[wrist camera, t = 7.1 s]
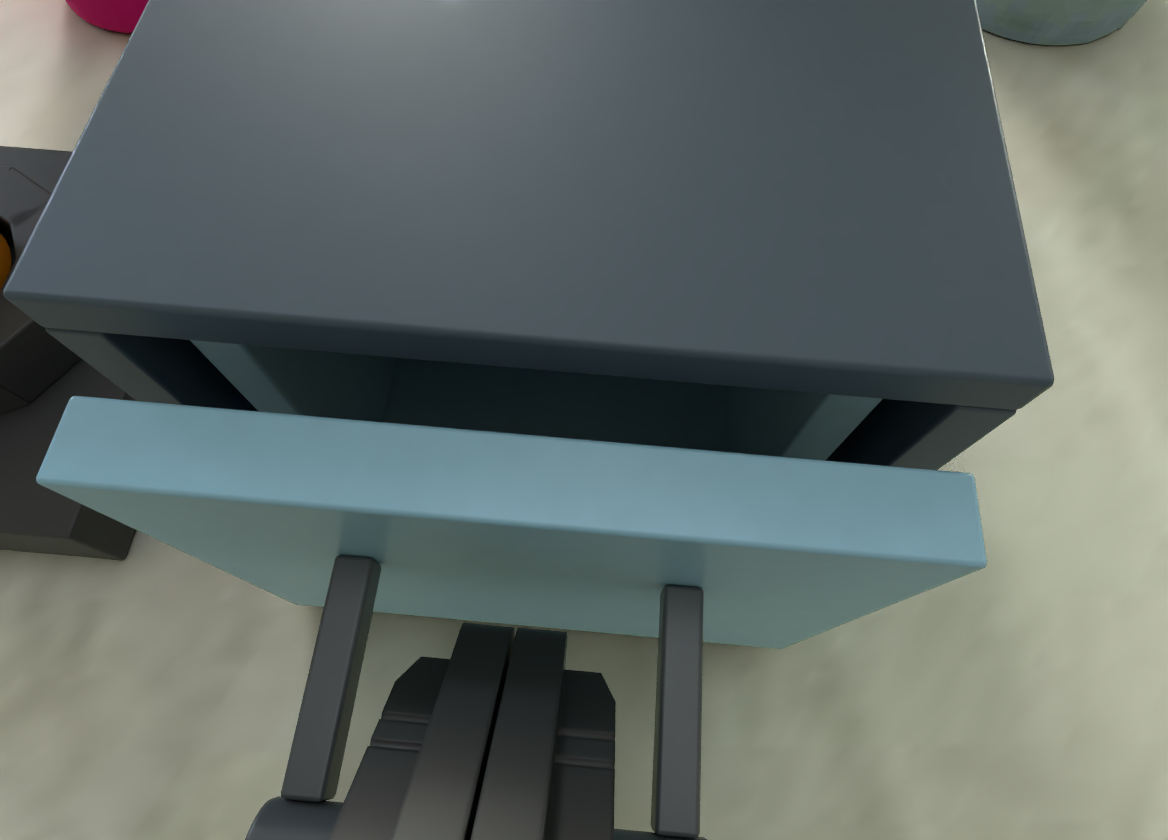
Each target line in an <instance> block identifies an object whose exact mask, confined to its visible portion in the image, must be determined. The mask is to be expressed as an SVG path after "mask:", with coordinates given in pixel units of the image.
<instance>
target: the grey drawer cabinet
mask: <svg viewBox="0 0 1168 840" xmlns="http://www.w3.org/2000/svg"><path fill="white" fill-rule="evenodd" d="M3 295H4V297H5V298H6V299H7V300H8V301H9V302H11V303H12V304H13V305H15V306H16V307H17V308H19V309H20V310H21V311H22V312H24V313H25V314H26V315H28V316H29V317H30V318H32V319H33V320H34V321H35V322H37V323H38V324H39V325H41V326H43V327H46V332H48V333H49V334H50V335H52V336H53V337H54V338H55V339H57V340H58V341H59V342H61V343H62V344H63V345H65V346H66V347H67V348H69V349H70V350H71V351H72V352H74V353H75V354H76V355H78V356H79V357H80V358H82V359H83V360H84V361H85V362H87V363H88V364H89V365H91V366H92V367H93V368H95V369H96V370H97V371H99V372H100V373H101V374H102V375H104V376H105V377H106V378H108V379H109V380H110V381H112V382H113V383H114V384H115V385H117V386H118V387H119V388H121V389H122V390H123V391H125V392H126V393H127V394H129V395H130V396H131V397H132V398H134V399H135V400H136V401H142V402H153V403H165V404H177V405H188V406H200V407H211V408H223V409H234V410H246V411H257V412H259V411H258V410H257V409H256V408H255V407H254V406H253V405H252V404H251V403H250V402H249V401H248V400H247V399H246V398H245V397H244V396H243V395H242V394H241V393H240V392H239V391H238V390H237V389H236V388H235V386H234V385H233V384H232V383H231V382H230V381H229V380H228V379H227V378H226V377H225V376H224V375H223V374H222V373H221V372H220V371H219V370H218V369H217V368H216V367H215V366H214V365H213V364H212V363H211V362H210V361H209V360H208V359H207V358H206V357H205V356H204V354H203V353H202V352H201V351H200V350H199V349H198V348H197V347H196V346H195V345H194V344H193V343H192V342H191V341H190V340H196V341H207V342H219V343H231V344H243V345H255V346H266V347H278V348H290V349H302V350H313V351H325V352H337V353H349V354H361V355H372V356H384V357H396V358H408V359H420V360H431V361H443V362H455V363H467V364H478V365H490V366H502V367H514V368H526V369H537V370H549V371H561V372H573V373H585V374H596V375H608V376H620V377H632V378H643V379H655V380H667V381H679V382H691V383H702V384H714V385H726V386H738V387H750V388H761V389H773V390H785V391H797V392H808V393H820V394H832V395H844V396H856V397H867V398H879V399H882V400H881V401H880V402H879V403H878V405H877V406H876V407H875V408H874V409H873V410H872V411H871V412H870V413H869V414H868V415H867V416H866V417H865V418H864V420H863V421H862V422H861V423H860V424H859V425H858V426H857V427H856V428H855V429H854V430H853V431H852V432H851V433H850V434H849V436H848V437H847V438H846V439H845V440H844V441H843V442H842V443H841V444H840V445H839V446H838V447H837V448H836V449H835V451H834V452H833V453H832V454H831V455H830V456H829V457H828V458H827V459H826V460H825V461H835V462H846V463H858V464H869V465H881V466H892V467H904V468H916V469H927V470H938V469H939V468H941V467H942V466H943V465H945V464H946V463H947V462H949V461H950V460H952V459H953V458H954V457H956V456H957V455H959V454H960V453H961V452H963V451H964V450H966V449H967V448H968V447H970V446H971V445H973V444H974V443H975V442H977V441H978V440H980V439H981V438H982V437H984V436H985V435H987V434H988V433H989V432H991V431H992V430H993V429H995V428H996V427H998V426H999V425H1000V424H1002V423H1003V422H1005V421H1006V420H1007V419H1009V418H1010V417H1012V416H1013V415H1014V414H1015V413H1016V410H1017V409H1020V408H1022V407H1024V406H1025V405H1026V404H1028V403H1029V402H1030V401H1032V400H1033V399H1035V398H1036V397H1037V396H1039V395H1040V394H1042V393H1043V392H1044V391H1046V390H1047V389H1049V388H1050V387H1051V386H1052V385H1053V382H1054V375H1053V370H1052V366H1051V361H1050V356H1049V351H1048V346H1047V341H1046V337H1045V332H1044V327H1043V322H1042V317H1041V312H1040V308H1039V303H1038V298H1037V293H1036V288H1035V284H1034V279H1033V274H1032V269H1031V264H1030V259H1029V255H1028V250H1027V245H1026V240H1025V235H1024V230H1023V226H1022V221H1021V216H1020V211H1019V206H1018V201H1017V197H1016V192H1015V187H1014V182H1013V177H1012V173H1011V168H1010V163H1009V158H1008V153H1007V148H1006V144H1005V139H1004V134H1003V129H1002V124H1001V119H1000V115H999V110H998V105H997V100H996V95H995V91H994V86H993V81H992V76H991V71H990V66H989V62H988V57H987V52H986V47H985V42H984V37H983V33H982V28H981V23H980V18H979V13H978V9H977V4H976V0H149V1H148V3H147V5H146V7H145V9H144V11H143V13H142V15H141V17H140V19H139V21H138V23H137V25H136V27H135V29H134V31H133V33H132V35H131V37H130V39H129V41H128V43H127V45H126V47H125V49H124V51H123V53H122V55H121V57H120V59H119V61H118V63H117V65H116V67H115V69H114V71H113V73H112V75H111V77H110V79H109V81H108V83H107V85H106V87H105V89H104V91H103V93H102V95H101V97H100V99H99V101H98V103H97V105H96V107H95V108H94V110H93V112H92V114H91V116H90V118H89V120H88V122H87V124H86V126H85V128H84V130H83V132H82V134H81V136H80V138H79V140H78V142H77V144H76V146H75V148H74V150H73V152H72V154H71V156H70V158H69V160H68V162H67V164H66V166H65V168H64V170H63V172H62V174H61V176H60V178H59V180H58V182H57V184H56V186H55V188H54V190H53V192H52V194H51V196H50V198H49V200H48V202H47V204H46V206H45V208H44V210H43V212H42V214H41V216H40V218H39V220H38V222H37V224H36V226H35V228H34V230H33V232H32V234H31V236H30V238H29V240H28V242H27V244H26V246H25V248H24V250H23V252H22V254H21V256H20V258H19V260H18V262H17V264H16V266H15V268H14V270H13V272H12V274H11V276H10V278H9V280H8V282H7V284H6V286H5V288H4V290H3Z"/></svg>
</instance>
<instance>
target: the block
mask: <svg viewBox="0 0 1168 840" xmlns="http://www.w3.org/2000/svg"><path fill="white" fill-rule="evenodd" d="M71 154H72V152H69V151H56V150H44V149H31V148H19V147H6V146H0V233H1V235H2V236H3V237H4V238H5V240H6V242H7V244H8V246H9V249H10V252H11V260H12V263H11V270H10V272H9V274H8V276H7V278H6V280H5V282H4V284H3V286H2V288H1V290H0V549H4V550H15V551H26V552H37V553H48V554H59V555H70V556H81V557H92V558H103V559H114V560H123V559H125V557H126V554H127V551H128V548H129V545H130V543H131V540H132V537H133V534H134V531H135V529H134V528H131V527H129V526H127V525H125V524H123V523H121V522H119V521H117V520H114V519H112V518H110V517H108V516H106V515H104V514H102V513H99V512H97V511H95V510H93V509H91V508H89V507H87V506H85V505H82V504H80V503H78V502H76V501H74V500H72V499H70V498H67V497H65V496H63V495H61V494H59V493H57V492H55V491H53V490H50V489H48V488H46V487H44V486H42V485H40V484H38V483H37V481H36V477H37V474H38V472H39V470H40V467H41V465H42V463H43V460H44V458H45V456H46V453H47V451H48V448H49V446H50V444H51V441H52V439H53V437H54V434H55V432H56V430H57V427H58V425H59V423H60V420H61V418H62V415H63V413H64V411H65V408H66V406H67V404H68V401H69V399H70V398H71V397H72V396H84V397H96V398H107V399H119V400H130V401H136V400H135V399H134V398H132V397H131V396H130V395H129V394H127V393H126V392H125V391H123V390H122V389H121V388H119V387H118V386H117V385H115V384H114V383H113V382H112V381H110V380H109V379H108V378H106V377H105V376H104V375H102V374H101V373H100V372H99V371H97V370H96V369H95V368H93V367H92V366H91V365H89V364H88V363H87V362H85V361H84V360H83V359H82V358H80V357H79V356H78V355H76V354H75V353H74V352H72V351H71V350H70V349H69V348H67V347H66V346H65V345H63V344H62V343H61V342H59V341H58V340H57V339H55V338H54V337H53V336H52V335H50V334H49V333H48V332H46V327H43V326H41V325H39V324H38V323H37V322H35V321H34V320H33V319H32V318H30V317H29V316H28V315H26V314H25V313H24V312H22V311H21V310H20V309H19V308H17V307H16V306H15V305H13V304H12V303H11V302H9V301H8V300H7V299H6V298H5V297H4V295H3V290H4V288H5V286H6V284H7V282H8V280H9V278H10V276H11V274H12V272H13V270H14V268H15V266H16V264H17V262H18V260H19V258H20V256H21V254H22V252H23V250H24V248H25V246H26V244H27V242H28V240H29V238H30V236H31V234H32V232H33V230H34V228H35V226H36V224H37V222H38V220H39V218H40V216H41V214H42V212H43V210H44V208H45V206H46V204H47V202H48V200H49V198H50V196H51V194H52V192H53V190H54V188H55V186H56V184H57V182H58V180H59V178H60V176H61V174H62V172H63V170H64V168H65V166H66V164H67V162H68V160H69V158H70V156H71Z"/></svg>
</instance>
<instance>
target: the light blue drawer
mask: <svg viewBox="0 0 1168 840" xmlns="http://www.w3.org/2000/svg"><path fill="white" fill-rule="evenodd" d="M190 341H191V342H192V343H193V344H194V345H195V346H196V347H197V348H198V349H199V350H200V351H201V352H202V353H203V354H204V356H205V357H206V358H207V359H208V360H209V361H210V362H211V363H212V364H213V365H214V366H215V367H216V368H217V369H218V370H219V371H220V372H221V373H222V374H223V375H224V376H225V377H226V378H227V379H228V380H229V381H230V382H231V383H232V384H233V385H234V386H235V388H236V389H237V390H238V391H239V392H240V393H241V394H242V395H243V396H244V397H245V398H246V399H247V400H248V401H249V402H250V403H251V404H252V405H253V406H254V407H255V408H256V409H257V410H258V411H259V412H257V411H246V410H234V409H223V408H211V407H200V406H188V405H177V404H165V403H153V402H142V401H130V400H119V399H107V398H96V397H84V396H72V397H71V398H70V399H69V401H68V404H67V406H66V408H65V411H64V413H63V415H62V418H61V420H60V423H59V425H58V427H57V430H56V432H55V434H54V437H53V439H52V441H51V444H50V446H49V448H48V451H47V453H46V456H45V458H44V460H43V463H42V465H41V467H40V470H39V472H38V474H37V477H36V481H37V483H38V484H40V485H42V486H44V487H46V488H48V489H50V490H53V491H55V492H57V493H59V494H61V495H63V496H65V497H67V498H70V499H72V500H74V501H76V502H78V503H80V504H82V505H85V506H87V507H89V508H91V509H93V510H95V511H97V512H99V513H102V514H104V515H106V516H108V517H110V518H112V519H114V520H117V521H119V522H121V523H123V524H125V525H127V526H129V527H131V528H134V529H136V530H138V531H140V532H142V533H144V534H146V535H149V536H151V537H153V538H155V539H157V540H159V541H161V542H163V543H166V544H168V545H170V546H172V547H174V548H176V549H178V550H181V551H183V552H185V553H187V554H189V555H191V556H193V557H195V558H198V559H200V560H202V561H204V562H206V563H208V564H210V565H213V566H215V567H217V568H219V569H221V570H223V571H225V572H227V573H230V574H232V575H234V576H236V577H238V578H240V579H242V580H245V581H247V582H249V583H251V584H253V585H255V586H257V587H259V588H262V589H264V590H266V591H268V592H270V593H272V594H274V595H277V596H279V597H281V598H283V599H285V600H287V601H289V602H291V603H294V604H296V605H306V606H317V607H324V609H323V613H322V617H321V622H320V626H319V630H318V635H317V639H316V643H315V648H314V652H313V656H312V661H311V665H310V669H309V674H308V678H307V682H306V687H305V691H304V695H303V700H302V704H301V708H300V713H299V717H298V721H297V726H296V730H295V734H294V739H293V743H292V747H291V752H290V756H289V760H288V765H287V769H286V773H285V778H284V782H283V786H282V791H281V797H276V798H273V799H270V800H269V801H267V802H266V803H265V804H264V805H263V807H262V808H261V809H260V811H259V812H258V814H257V815H256V817H255V819H254V821H253V823H252V825H251V827H250V829H249V831H248V834H247V836H246V838H245V840H328V839H329V836H330V834H331V832H332V829H333V827H334V825H335V822H336V820H337V818H338V815H339V813H340V811H341V808H342V806H343V803H342V802H332V801H326V800H330V799H332V798H334V796H335V794H336V790H337V785H338V780H339V775H340V770H341V765H342V761H343V756H344V751H345V746H346V741H347V736H348V731H349V726H350V721H351V716H352V711H353V706H354V701H355V696H356V692H357V687H358V682H359V677H360V672H361V667H362V662H363V657H364V652H365V647H366V642H367V637H368V632H369V628H370V623H371V618H372V613H373V612H382V613H393V614H404V615H415V616H426V617H437V618H448V619H459V620H470V621H480V622H491V623H502V624H513V625H524V626H535V627H546V628H557V629H568V630H579V631H590V632H600V633H611V634H622V635H633V636H644V637H655V638H658V662H657V686H656V710H655V734H654V758H653V782H652V806H651V827H652V829H653V831H654V832H655V833H652V832H641V831H631V830H621V829H614V840H707V839H705V838H703V837H698V836H699V833H700V778H701V720H702V661H703V642H710V643H720V644H731V645H742V646H753V647H764V648H775V649H782V648H785V647H787V646H790V645H792V644H795V643H797V642H800V641H802V640H805V639H807V638H810V637H812V636H815V635H817V634H820V633H822V632H825V631H827V630H830V629H832V628H835V627H837V626H840V625H842V624H845V623H847V622H850V621H852V620H855V619H857V618H860V617H862V616H865V615H867V614H870V613H872V612H875V611H877V610H880V609H882V608H885V607H887V606H890V605H892V604H895V603H897V602H900V601H902V600H905V599H907V598H910V597H912V596H915V595H917V594H920V593H922V592H925V591H927V590H930V589H932V588H935V587H937V586H940V585H942V584H945V583H947V582H950V581H952V580H955V579H957V578H960V577H962V576H965V575H967V574H970V573H972V572H975V571H977V570H980V569H982V568H985V566H986V563H987V560H986V553H985V546H984V539H983V533H982V526H981V519H980V512H979V505H978V498H977V492H976V485H975V478H974V476H973V474H970V473H962V472H950V471H939V470H927V469H916V468H904V467H892V466H881V465H869V464H858V463H846V462H835V461H825V460H826V459H827V458H828V457H829V456H830V455H831V454H832V453H833V452H834V451H835V449H836V448H837V447H838V446H839V445H840V444H841V443H842V442H843V441H844V440H845V439H846V438H847V437H848V436H849V434H850V433H851V432H852V431H853V430H854V429H855V428H856V427H857V426H858V425H859V424H860V423H861V422H862V421H863V420H864V418H865V417H866V416H867V415H868V414H869V413H870V412H871V411H872V410H873V409H874V408H875V407H876V406H877V405H878V403H879V402H880V401H881V400H882V399H879V398H867V397H856V396H844V395H832V394H820V393H808V392H797V391H785V390H773V389H761V388H750V387H738V386H726V385H714V384H702V383H691V382H679V381H667V380H655V379H643V378H632V377H620V376H608V375H596V374H585V373H573V372H561V371H549V370H537V369H526V368H514V367H502V366H490V365H478V364H467V363H455V362H443V361H431V360H420V359H408V358H396V357H384V356H372V355H361V354H349V353H337V352H325V351H313V350H302V349H290V348H278V347H266V346H255V345H243V344H231V343H219V342H207V341H196V340H190Z"/></svg>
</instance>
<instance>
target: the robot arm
mask: <svg viewBox="0 0 1168 840" xmlns="http://www.w3.org/2000/svg"><path fill="white" fill-rule="evenodd" d="M566 647H567V632H561V631H550V630H539V629H528V628H517V631H516V635H515V630H514V627H504V626H493V625H482V624H471V623H463V625H462V627H461V629H460V632H459V635H458V638H457V641H456V644H455V647H454V650H453V653H452V656H451V659H441V658H430V657H420V658H419V659H418V660H417V661H416V662H415V663H414V664H413V665H412V666H411V667H410V668H409V669H408V670H407V671H406V672H405V673H404V674H403V675H402V676H401V677H399V678H398V679H397V680H396V681H395V683H394V686H393V688H392V690H391V693H390V695H389V697H388V700H387V702H386V704H385V707H384V709H383V712H382V717H381V719H379V721H378V723H377V726H376V728H375V730H374V733H373V735H372V737H371V742H370V746H368V747H367V749H366V752H365V754H364V756H363V759H362V761H361V763H360V766H359V768H358V770H357V773H356V775H355V778H354V780H353V782H352V785H351V787H350V789H349V792H348V794H347V796H346V799H345V801H344V803H343V806H342V808H341V811H340V813H339V815H338V818H337V820H336V822H335V825H334V827H333V829H332V832H331V834H330V836H329V839H328V840H614V779H615V769H614V765H615V703H616V702H615V700H614V698H613V696H612V694H611V692H610V690H609V688H608V686H607V684H606V682H605V680H604V678H603V676H602V674H601V673H595V672H584V671H573V670H565V660H566Z"/></svg>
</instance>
